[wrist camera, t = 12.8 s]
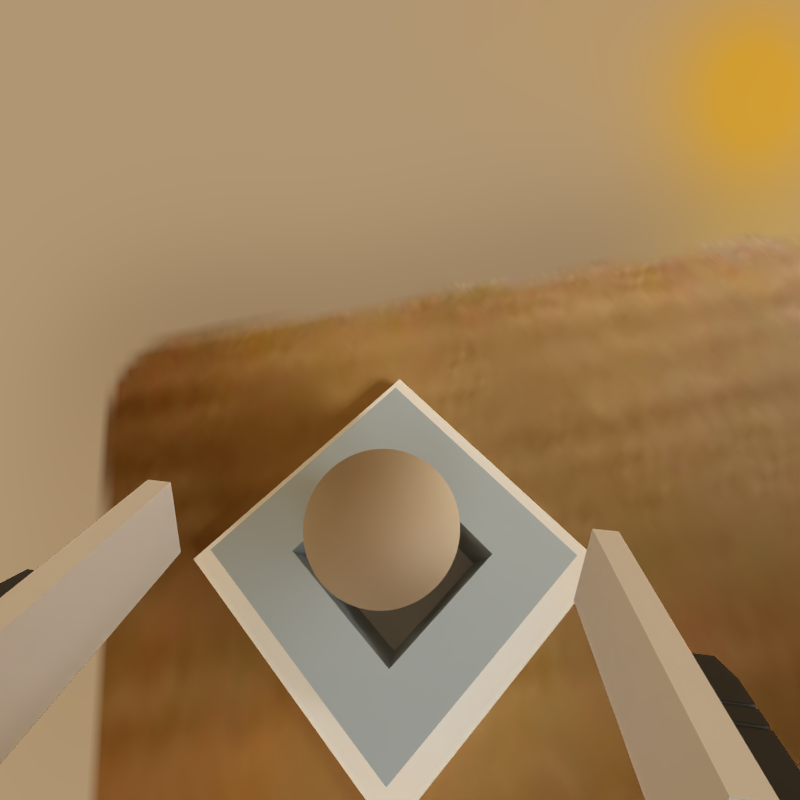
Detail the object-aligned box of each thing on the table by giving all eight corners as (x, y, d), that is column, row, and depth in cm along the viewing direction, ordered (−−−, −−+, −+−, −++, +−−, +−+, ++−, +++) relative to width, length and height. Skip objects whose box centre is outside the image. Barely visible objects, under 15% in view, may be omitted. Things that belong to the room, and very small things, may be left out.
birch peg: (397, 511, 25) (385, 420, 12) (448, 564, 24) (492, 525, 11) (345, 562, 24) (271, 522, 11) (395, 621, 23) (377, 651, 10)
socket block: (400, 387, 30) (396, 327, 23) (595, 567, 25) (663, 556, 18) (202, 560, 25) (129, 548, 19) (391, 821, 20) (382, 931, 14)
